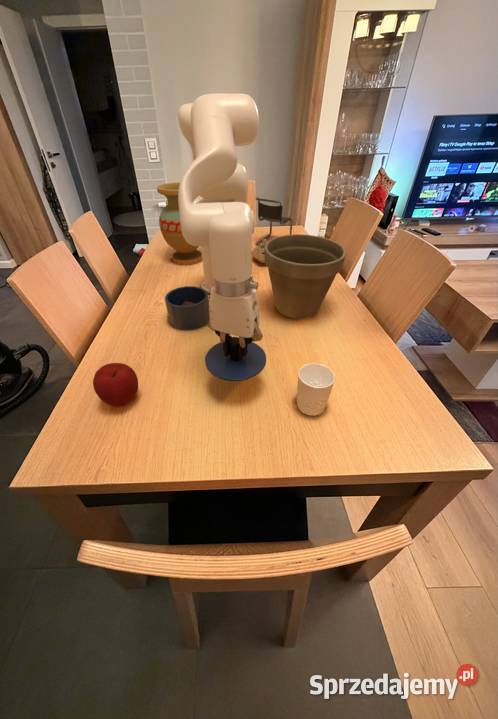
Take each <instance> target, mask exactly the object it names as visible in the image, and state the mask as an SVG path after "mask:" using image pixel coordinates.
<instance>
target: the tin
mask: <svg viewBox="0 0 498 719" xmlns="http://www.w3.org/2000/svg"><path fill="white" fill-rule="evenodd" d="M186 301H187V302H192V303H196V304H193V305H188V306H181V305H182V304H183V303H184V302H186ZM164 303H165V307H166V312H167V317H168V321H169V324H170V326H172V327H173V328H175V329H178V330H181V331H192V330H197V329H200V328H203V327H204V326H206V325H208V323H209V321H210V312H209V306H210V296H209V293H207V291H206V290H204V289H202V288H201V286H200V287H199V286H195V285H194V286H193V285H185V286H179V287H176V288H173V289H172V290H169V291H168V292H167V293H166V294H165V296H164Z"/></svg>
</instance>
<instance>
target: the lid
mask: <svg viewBox="0 0 498 719" xmlns="http://www.w3.org/2000/svg"><path fill="white" fill-rule="evenodd" d="M239 345H240V341H239V336H232V338H230V339H229V353H230V354H229V356H227V357H226V356H225V354H224V350H223V343H222V342H221V341H220V342H218V343H216V344H214V345H213V346H212V347H210V348H209V349H208V350H207V352H206V354H205V356H204V357H205V358H204V364H205V368H206V370H207V371H208V372H209V374H210V375H212V376H213V377H215V378H217V379H220V380H222V381H227V382H242V381H247V380H251V379H252V378H254V377H256V376H258V375H259V374H261V373H262V371H263V370H264V369H265V367H266V365H267V354H266V352H265V350H264V348H262V347H261V345H259V344H257V343H255V342H254V341H253V342H251V343H250V344H248V353H247V355H246V356H244V357H243V359H242V360H241V361H240V360H239V359H238V346H239Z"/></svg>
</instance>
